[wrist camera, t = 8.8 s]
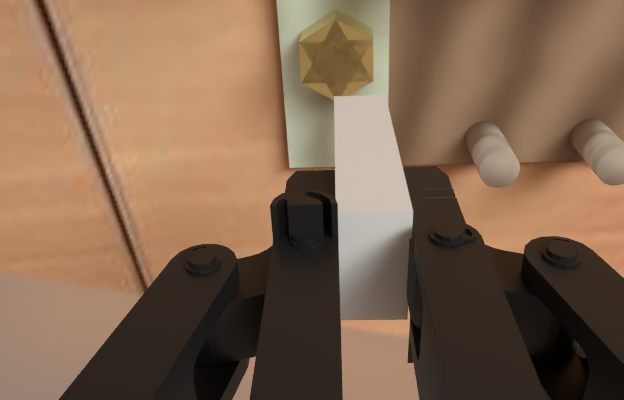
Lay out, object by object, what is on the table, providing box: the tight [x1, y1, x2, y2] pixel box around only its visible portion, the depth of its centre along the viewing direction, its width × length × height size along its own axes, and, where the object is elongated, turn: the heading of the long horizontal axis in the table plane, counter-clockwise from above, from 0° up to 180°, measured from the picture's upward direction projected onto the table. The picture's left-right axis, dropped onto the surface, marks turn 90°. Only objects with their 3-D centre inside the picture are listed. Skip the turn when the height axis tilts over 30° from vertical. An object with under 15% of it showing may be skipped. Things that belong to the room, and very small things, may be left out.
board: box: [276, 0, 624, 187], centre depth 35 cm, size 23×17×6 cm
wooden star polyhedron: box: [299, 9, 373, 100], centre depth 36 cm, size 4×5×3 cm
